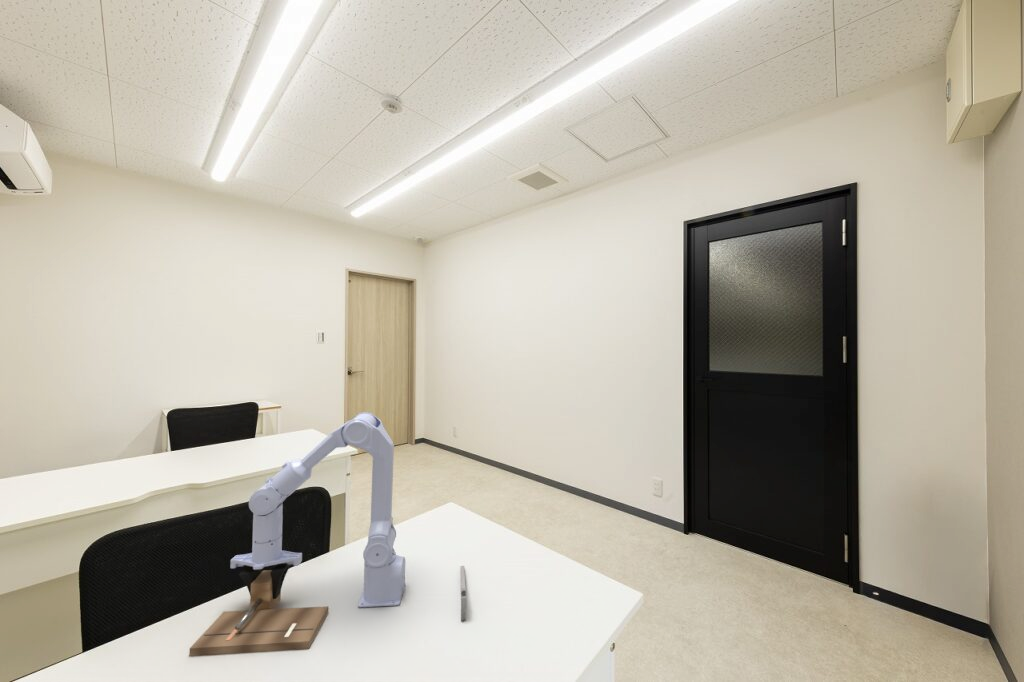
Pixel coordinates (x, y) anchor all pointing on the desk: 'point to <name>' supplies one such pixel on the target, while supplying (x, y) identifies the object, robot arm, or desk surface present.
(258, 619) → the walnut board
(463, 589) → the caliper
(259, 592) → the marking gauge
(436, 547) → the desk surface
